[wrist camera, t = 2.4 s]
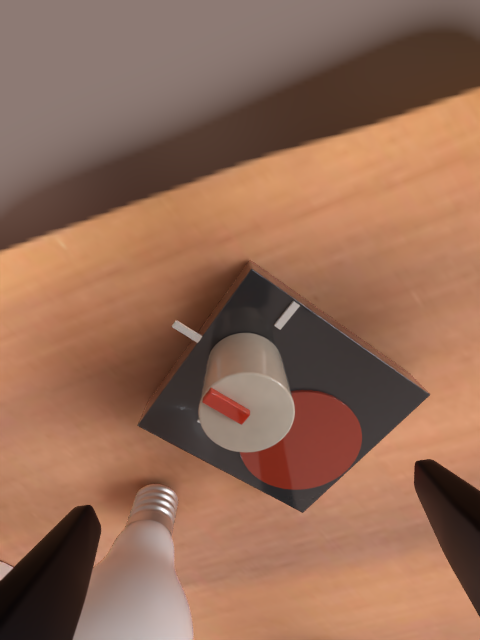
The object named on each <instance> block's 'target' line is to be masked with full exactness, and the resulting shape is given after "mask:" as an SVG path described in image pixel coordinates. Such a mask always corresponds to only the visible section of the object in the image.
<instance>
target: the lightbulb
mask: <svg viewBox="0 0 480 640" xmlns="http://www.w3.org/2000/svg"><path fill="white" fill-rule="evenodd" d="M177 505H178V497H177V494H176V493H175V492H174V491H173V490H172V489H171V488H169V487H167V486H165V485H161V484H150V485H146V486H144V487H142V488H141V489H140V490H139V491H138V492H137V494H136V496H135V500H134V503H133V505H132V509H131V511H130V515H129V517H128V521H127V523H126V526H125V529H124V530H123V531H122V532H121V533H120V534H119V535H118V536H117V538H116V539H115V541H114V543H113V545H112V546H111V548H110V550H109V552H108V553H107V555H106V556H105V557H104V558H103V559H102V560H101V561H100V562H99V563H98V564H97V565H95V566H94V567H93V570H92V574H91V578H90V583H89V587H88V591H87V595H86V599H85V602H84V605H83V609H82V612H81V615H80V618H79V621H78V624H77V628H76V631H75V634H74V637H73V640H194V631H193V621H192V615H191V611H190V607H189V603H188V600H187V597H186V594H185V592H184V589H183V587H182V585H181V583H180V580H179V578H178V576H177V573H176V570H175V561H174V557H175V554H174V543H173V539H172V533H173V525H174V522H175V517H176V511H177Z"/></svg>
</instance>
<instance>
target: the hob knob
mask: <svg viewBox="0 0 480 640" xmlns="http://www.w3.org/2000/svg"><path fill="white" fill-rule="evenodd" d="M198 416H199V421H200V424H201V426H202V428H203V430H204V432H205V433H206V435H207V436H208V437H209V438H210V439H211V440H212V441H213V442H215V443H216V444H218V445H219V446H221V447H223V448H225V449H228V450H231V451H236V452H256V451H261V450H264V449H267V448H269V447H271V446H273V445H275V444H277V443H278V442H279V441H281V440H282V439H283V438H284V437H285V436H286V434H287V433H288V432H289V430H290V428H291V426H292V424H293V421H294V417H295V405H294V401H293V397H292V393H291V390H290V386H289V382H288V379H287V375H286V371H285V368H284V364H283V361H282V357H281V354H280V352H279V351H278V349H277V348H276V346H275V345H274V344H273V343H272V342H270V341H269V340H268V339H266V338H264V337H262V336H260V335H257V334H252V333H238V334H233V335H230V336H228V337H226V338H224V339H222V340H221V341H219V342H218V343H217V344H216V345H215V346H214V347H213V349H212V350H211V352H210V354H209V356H208V359H207V364H206V369H205V375H204V381H203V386H202V392H201V397H200V403H199V409H198Z"/></svg>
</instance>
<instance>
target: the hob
mask: <svg viewBox="0 0 480 640" xmlns="http://www.w3.org/2000/svg"><path fill="white" fill-rule="evenodd" d="M172 327H173V328H174V329H176V330H177V331H179V332H181V333H182V334H184V335H186V336H187V337H189V338H190V339H192V341H191V342H190V344H189V345H188V347H187V348H186V349H185V351H184V352H183V353H182V355H181V356H180V358H179V359H178V360H177V362H176V363H175V365H174V366H173V367H172V369H171V370H170V372H169V373H168V374H167V376H166V377H165V379H164V380H163V381H162V383H161V384H160V386H159V387H158V388H157V390H156V391H155V392H154V394H153V395H152V397H151V398H150V399H149V401H148V402H147V404H146V407H145V409H144V411H143V414H142V416H141V418H140V421H139V423H138V426H139V427H141V428H143V429H144V430H146V431H148V432H150V433H152V434H154V435H156V436H158V437H160V438H162V439H163V440H165V441H167V442H169V443H171V444H173V445H175V446H177V447H179V448H181V449H183V450H184V451H186V452H188V453H190V454H192V455H194V456H196V457H198V458H200V459H202V460H203V461H205V462H207V463H209V464H211V465H213V466H215V467H217V468H219V469H221V470H222V471H224V472H226V473H228V474H230V475H232V476H234V477H236V478H238V479H240V480H241V481H243V482H245V483H247V484H249V485H251V486H253V487H255V488H257V489H259V490H261V491H262V492H264V493H266V494H268V495H270V496H272V497H274V498H276V499H278V500H280V501H281V502H283V503H285V504H287V505H289V506H291V507H293V508H295V509H297V510H299V511H300V512H302V513H303V512H304V511H305V510H306V509H307V508H309V507H310V506H311V505H312V504H313V503H314V502H315V501H316V500H317V499H318V498H319V497H320V496H322V495H323V494H324V493H325V492H326V491H327V490H328V489H329V488H330V487H331V486H332V485H333V484H334V483H336V482H337V481H338V480H339V479H340V478H341V477H342V476H343V475H344V474H345V473H346V472H347V471H349V470H350V469H351V468H352V467H353V466H354V465H355V464H356V463H357V462H358V461H359V460H360V459H361V458H363V457H364V456H365V455H366V454H367V453H368V452H369V451H370V450H371V449H372V448H373V447H374V446H376V445H377V444H378V443H379V442H380V441H381V440H382V439H383V438H384V437H385V436H386V435H387V434H389V433H390V432H391V431H392V430H393V429H394V428H395V427H396V426H397V425H398V424H399V423H400V422H401V421H403V420H404V419H405V418H406V417H407V416H408V415H409V414H410V413H411V412H412V411H413V410H414V409H416V408H417V407H418V406H419V405H420V404H421V403H422V402H423V401H424V400H425V399H426V398H427V397H428V396H430V394H429V393H428V391H427V390H426V389H425V388H424V387H423V386H422V385H421V384H420V383H419V382H418V381H417V380H416V379H415V378H414V377H413V376H412V375H411V374H410V373H408V372H407V371H406V370H404V369H403V368H401V367H400V366H399V365H397V364H396V363H394V362H393V361H392V360H390V359H389V358H387V357H386V356H385V355H383V354H382V353H380V352H379V351H378V350H376V349H375V348H373V347H372V346H371V345H369V344H368V343H366V342H365V341H364V340H362V339H361V338H359V337H358V336H357V335H355V334H354V333H352V332H351V331H350V330H348V329H347V328H345V327H344V326H343V325H341V324H340V323H338V322H337V321H336V320H334V319H333V318H331V317H330V316H328V315H327V314H326V313H324V312H323V311H321V310H320V309H319V308H317V307H316V306H314V305H313V304H312V303H310V302H309V301H307V300H306V299H305V298H303V297H302V296H300V295H299V294H298V293H296V292H295V291H293V290H292V289H291V288H289V287H288V286H286V285H285V284H284V283H282V282H281V281H279V280H278V279H277V278H275V277H274V276H272V275H271V274H270V273H268V272H267V271H265V270H264V269H263V268H261V267H260V266H258V265H257V264H256V263H254V262H253V261H251V260H249V262H248V263H247V264H246V266H245V267H244V269H243V270H242V271H241V273H240V274H239V276H238V277H237V278H236V280H235V281H234V282H233V284H232V285H231V287H230V288H229V289H228V291H227V292H226V294H225V295H224V296H223V298H222V299H221V301H220V302H219V303H218V305H217V306H216V308H215V309H214V310H213V312H212V313H211V315H210V316H209V317H208V319H207V320H206V321H205V323H204V324H203V326H202V327H201V328H200V330H199V331H198V333H197V332H195V331H193V330H192V329H190V328H189V327H187V326H185V325H184V324H182V323H181V322H179V321H177V320H175V322H174V323H173V325H172ZM238 333H252V334H257V335H260V336H262V337H264V338H266V339H268V340H269V341H270V342H272V343H273V344H274V345H275V346H276V348H277V349H278V351H279V352H280V354H281V357H282V361H283V364H284V368H285V371H286V375H287V379H288V382H289V386H290V390H291V391H297V390H312V391H319V392H323V393H327V394H329V395H332V396H334V397H336V398H338V399H340V400H341V401H342V402H344V403H345V404H346V405H347V406H348V407H349V408H350V409H351V410H352V411H353V412H354V414H355V415H356V417H357V419H358V421H359V423H360V427H361V431H362V443H361V448H360V451H359V454H358V456H357V458H356V459H355V461H354V462H353V464H352V465H351V466H350V467H349V468H348V469H347V470H346V471H345V472H344V473H343V474H342V475H341V476H339V477H337V478H336V479H334V480H332V481H330V482H329V483H326V484H324V485H321V486H318V487H314V488H309V489H300V490H291V489H283V488H278V487H275V486H272V485H269V484H267V483H265V482H263V481H261V480H260V479H258V478H257V477H255V476H254V475H253V474H252V473H251V472H250V471H249V470H248V468H247V467H246V466H245V464H244V462H243V460H242V458H241V455H240V452H236V451H231V450H228V449H225V448H223V447H221V446H219V445H218V444H216V443H215V442H213V441H212V440H211V439H210V438H209V437H208V436H207V435H206V433H205V432H204V430H203V428H202V426H201V424H200V421H199V416H198V409H199V403H200V397H201V392H202V386H203V381H204V375H205V369H206V364H207V359H208V356H209V354H210V352H211V350H212V349H213V347H214V346H215V345H216V344H217V343H218V342H219V341H221V340H222V339H224V338H226V337H228V336H230V335H233V334H238Z"/></svg>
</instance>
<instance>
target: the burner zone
mask: <svg viewBox="0 0 480 640" xmlns="http://www.w3.org/2000/svg"><path fill="white" fill-rule="evenodd" d="M291 393H292V397H293V401H294V405H295V417H294V421H293V424H292V426H291V428H290V430H289V432H288V433H287V434H286V436H285V437H284V438H283V439H282V440H281V441H279V442H278V443H277V444H275V445H273V446H271V447H269V448H267V449H264V450H261V451H256V452H240V455H241V458H242V460H243V462H244V464H245V466H246V467H247V468H248V470H249V471H250V472H251V473H252V474H253V475H254V476H255V477H257V478H258V479H260V480H261V481H263V482H265V483H267V484H269V485H272V486H275V487H278V488H283V489H291V490H300V489H309V488H314V487H318V486H321V485H324V484H326V483H329V482H330V481H332V480H334V479H336V478H337V477H339V476H341V475H342V474H343V473H344V472H345V471H346V470H347V469H348V468H349V467H350V466H351V465H352V464H353V462H354V461H355V459H356V458H357V456H358V454H359V451H360V448H361V443H362V431H361V427H360V423H359V421H358V419H357V417H356V415H355V414H354V412H353V411H352V410H351V409H350V408H349V407H348V406H347V405H346V404H345V403H344V402H342V401H341V400H340V399H338V398H336V397H334V396H332V395H329V394H327V393H323V392H319V391H312V390H297V391H291Z"/></svg>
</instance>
